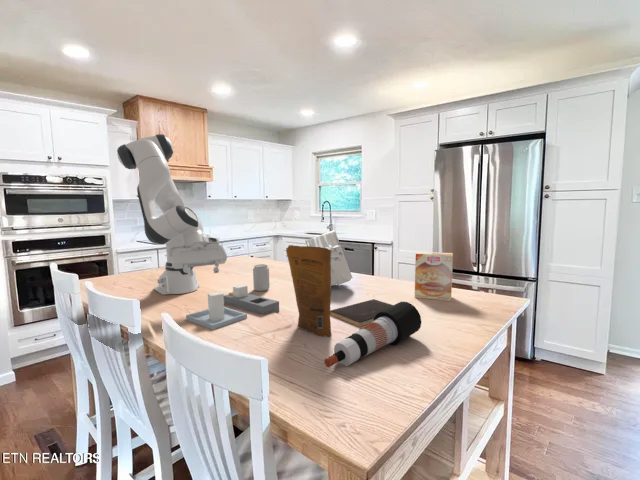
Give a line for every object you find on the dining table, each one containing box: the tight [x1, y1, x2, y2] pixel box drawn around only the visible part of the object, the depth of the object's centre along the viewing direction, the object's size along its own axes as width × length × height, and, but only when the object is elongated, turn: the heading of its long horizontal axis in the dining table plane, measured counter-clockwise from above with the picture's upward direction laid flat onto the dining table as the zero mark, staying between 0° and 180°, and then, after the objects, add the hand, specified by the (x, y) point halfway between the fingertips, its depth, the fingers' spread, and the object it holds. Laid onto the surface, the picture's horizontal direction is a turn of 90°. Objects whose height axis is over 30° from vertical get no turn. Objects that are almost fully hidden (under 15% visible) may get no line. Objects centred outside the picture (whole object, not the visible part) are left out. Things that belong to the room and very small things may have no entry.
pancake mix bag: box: [285, 244, 333, 337], centre depth 109 cm, size 7×19×28 cm, turn 43°
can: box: [252, 264, 270, 292], centre depth 162 cm, size 8×8×12 cm
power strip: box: [224, 284, 280, 316], centre depth 134 cm, size 24×8×8 cm, turn 52°
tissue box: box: [305, 229, 353, 287], centre depth 168 cm, size 21×17×26 cm
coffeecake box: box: [414, 251, 454, 302], centre depth 146 cm, size 15×7×20 cm, turn 68°
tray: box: [185, 306, 248, 331], centre depth 120 cm, size 16×14×2 cm
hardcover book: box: [330, 299, 394, 327], centre depth 127 cm, size 16×23×2 cm
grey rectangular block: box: [207, 291, 225, 321], centre depth 119 cm, size 4×4×9 cm
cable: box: [323, 301, 422, 368], centre depth 94 cm, size 10×34×10 cm, turn 131°
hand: (204, 273), depth 127 cm, fingers open, 8 cm apart
